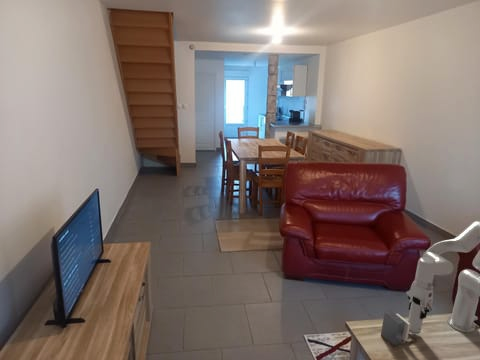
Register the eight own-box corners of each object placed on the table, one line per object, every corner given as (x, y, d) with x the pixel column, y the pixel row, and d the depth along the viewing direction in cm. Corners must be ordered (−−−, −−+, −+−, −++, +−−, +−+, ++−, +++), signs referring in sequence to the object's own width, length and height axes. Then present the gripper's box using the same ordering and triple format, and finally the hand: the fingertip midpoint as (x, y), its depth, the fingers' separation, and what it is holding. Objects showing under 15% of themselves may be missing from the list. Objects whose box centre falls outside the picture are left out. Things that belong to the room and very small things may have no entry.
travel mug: (422, 335, 172) (429, 300, 166) (408, 333, 173) (415, 298, 167) (419, 326, 178) (426, 292, 172) (405, 324, 179) (411, 291, 173)
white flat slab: (394, 330, 176) (397, 313, 174) (408, 342, 168) (412, 325, 166) (392, 330, 176) (395, 314, 173) (406, 343, 168) (410, 325, 165)
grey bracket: (401, 329, 179) (406, 306, 175) (416, 341, 171) (421, 317, 167) (380, 335, 174) (384, 312, 170) (394, 348, 166) (398, 323, 162)
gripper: (444, 290, 161) (437, 323, 166) (414, 271, 177) (408, 302, 182) (432, 294, 158) (425, 327, 164) (403, 274, 174) (397, 305, 179)
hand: (416, 313), depth 173 cm, fingers closed on travel mug, 6 cm apart
